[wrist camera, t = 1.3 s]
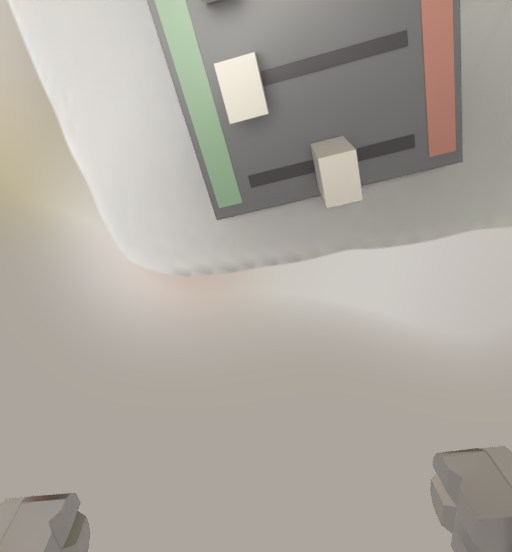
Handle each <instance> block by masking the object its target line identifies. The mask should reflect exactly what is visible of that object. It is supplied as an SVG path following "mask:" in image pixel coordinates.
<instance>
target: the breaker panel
mask: <svg viewBox="0 0 512 552" xmlns="http://www.w3.org/2000/svg"><path fill="white" fill-rule="evenodd" d="M147 2H148V5H149V8H150V11H151V15H152V18H153V21H154V24H155V27H156V30H157V33H158V37H159V40H160V43H161V46H162V49H163V52H164V55H165V59H166V62H167V65H168V68H169V71H170V74H171V77H172V81H173V84H174V87H175V90H176V93H177V96H178V99H179V103H180V106H181V109H182V112H183V115H184V118H185V121H186V125H187V128H188V131H189V134H190V137H191V140H192V143H193V147H194V150H195V153H196V156H197V159H198V162H199V165H200V169H201V172H202V175H203V178H204V181H205V184H206V187H207V191H208V194H209V197H210V200H211V203H212V206H213V209H214V213H215V216H216V219H217V220H220V219H224V218H228V217H233V216H237V215H241V214H245V213H249V212H254V211H258V210H262V209H266V208H270V207H275V206H279V205H283V204H287V203H291V202H295V201H300V200H304V199H308V198H312V197H316V196H321V193H320V191H319V188H318V183H317V178H316V173H315V167H314V162H313V156H312V151H311V146H310V144H312V143H316V142H320V141H324V140H328V139H332V138H336V137H339V136H344V137H345V138H346V139H347V141H348V142H349V143H350V144H351V145H352V146H353V147H354V148H355V149H356V153H357V160H358V167H359V175H360V182H361V186H362V185H367V184H371V183H375V182H379V181H383V180H388V179H392V178H396V177H400V176H404V175H408V174H413V173H417V172H421V171H425V170H429V169H434V168H438V167H442V166H446V165H450V164H454V163H459V162H462V101H461V40H460V0H218V1H215V2H211V3H208V4H205V3H204V2H203V1H202V0H147ZM252 52H256V56H257V60H258V64H259V69H260V73H261V78H262V82H263V87H264V91H265V96H266V100H267V105H268V114H266V115H262V116H258V117H255V118H251V119H247V120H243V121H240V122H236V123H232V124H230V122H229V119H228V115H227V111H226V108H225V104H224V100H223V97H222V93H221V89H220V86H219V82H218V78H217V74H216V71H215V67H214V64H215V63H218V62H222V61H225V60H228V59H232V58H235V57H239V56H242V55H246V54H249V53H252Z"/></svg>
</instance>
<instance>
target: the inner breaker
mask: <svg viewBox="0 0 512 552" xmlns="http://www.w3.org/2000/svg"><path fill="white" fill-rule="evenodd" d="M202 1H203V2H204V3H205V4H208V3H211V2H215V1H218V0H202Z"/></svg>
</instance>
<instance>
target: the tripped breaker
mask: <svg viewBox="0 0 512 552" xmlns="http://www.w3.org/2000/svg"><path fill="white" fill-rule="evenodd" d="M310 146H311V151H312V156H313V162H314V167H315V173H316V178H317V183H318V188H319V191H320V193H321V195H322V198H323V200H324V203H325V205H326V208H331V207H335V206H340V205H344V204H348V203H352V202H357V201H361V200H363V197H362V189H361V182H360V175H359V167H358V160H357V153H356V149H355V148H354V147H353V146H352V145H351V144H350V143H349V142H348V141H347V139H346V138H345V137H344V136H339V137H336V138H332V139H328V140H324V141H320V142H316V143H312V144H310Z"/></svg>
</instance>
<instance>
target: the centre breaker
mask: <svg viewBox="0 0 512 552" xmlns="http://www.w3.org/2000/svg"><path fill="white" fill-rule="evenodd" d="M214 67H215V71H216V74H217V78H218V82H219V86H220V89H221V93H222V97H223V100H224V104H225V108H226V111H227V115H228V119H229V122H230V124H232V123H236V122H240V121H243V120H247V119H251V118H255V117H258V116H262V115H266V114H268V105H267V100H266V96H265V91H264V87H263V82H262V78H261V73H260V69H259V64H258V60H257V56H256V52H252V53H249V54H246V55H242V56H239V57H235V58H232V59H228V60H225V61H222V62H218V63H215V64H214Z"/></svg>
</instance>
